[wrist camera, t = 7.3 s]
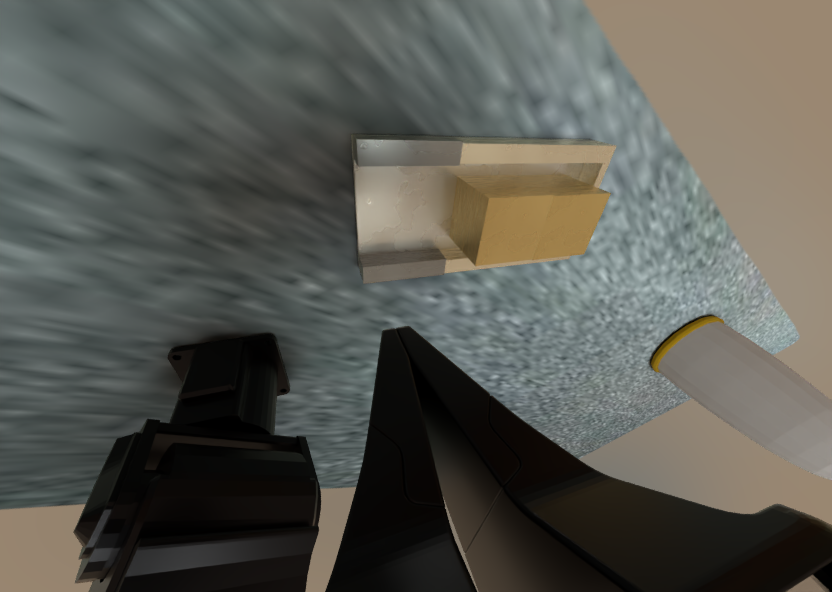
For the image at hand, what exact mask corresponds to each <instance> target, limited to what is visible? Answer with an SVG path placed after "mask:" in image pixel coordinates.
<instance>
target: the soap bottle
mask: <svg viewBox="0 0 832 592" xmlns="http://www.w3.org/2000/svg"><path fill="white" fill-rule="evenodd" d="M651 365H652V368H653V369H654V371H655V372H660V373H662V374H663V375H664V376H665V377H666V378H667V379H669V380H670V381H671V382H672V383H673V384H675V385H676V386H677V387H678V388H679V389H681V390H682V391H683V392H685V393H686V394H687V395H689V396H690V397H691V398H693V399H694V400H695V401H697V402H698V403H699V404H700V405H702V406H703V407H705V408H706V409H707V410H709V411H710V412H712V413H713V414H715V415H716V416H717V417H719V418H721V419H722V420H723V421H725V422H726V423H728V424H729V425H730V426H732V427H733V428H735V429H736V430H738V431H739V432H741V433H743V434H744V435H745V436H747V437H749V438H750V439H751V440H753V441H755V442H756V443H758V444H759V445H761V446H762V447H764V448H765V449H767V450H769V451H771V452H772V453H774V454H776V455H778V456H779V457H781V458H783V459H785V460H787V461H788V462H790V463H792V464H794V465H796V466H798V467H800V468H802V469H804V470H806V471H808V472H810V473H812V474H815V475H818V476H821V477H823V478H827V479H829V480H832V400H830V399H829V398H828V397H827V396H825V395H824V394H823V393H822V392H820V391H819V390H818V389H817V388H815V387H814V386H813V385H812V384H810V383H809V382H808V381H806V380H805V379H804V378H803V377H801V376H800V375H799V374H797V373H796V372H795V371H793V370H792V369H791V368H789V367H788V366H787V365H785V364H784V363H783V362H781V361H780V360H779V359H777V358H776V357H774V356H773V355H771V354H770V353H768V352H767V351H765V350H764V349H763V348H761V347H760V346H758V345H757V344H755V343H754V342H752V341H751V340H749V339H748V338H746V337H745V336H743V335H741V334H740V333H738V332H736V331H735V330H733V329H731V328H730V327H728V326H727V325H725V324H724V321H723V320H722V319H720V318H718V317H715V316H709V317H704V318H701V319H699V320H697V321H694V322H692V323H690V324H688V325H686V326H685V327H683V328H682V329H680V330H679V331H677V332H676V333H674V334H673V335H672V336H671V337H670V338H669V339H668V340H666V341H665V342H664V343H663V344H662V346H661V347H660V348H659V349H658V351H657V352H656V353H655V355H654V357H653V359H652V362H651Z"/></svg>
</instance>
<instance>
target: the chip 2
mask: <svg viewBox="0 0 832 592" xmlns="http://www.w3.org/2000/svg"><path fill="white" fill-rule="evenodd" d="M517 177H519V178H521V179H523V180H525V181H527V182H529V183H531V184H533V185H535V186H537V187H539V188H541V189H543V190H545V191H547V192H549V193H551V194H553V195H554V198H553V201H552V204H551V207H550V210H549V213H548V216H547V219H546V222H545V225H544V228H543V231H542V234H541V237H540V240H539V243H538V246H537V248H536V251H535V254H534V257H533V259H532V260H539V259H547V258H555V257H564V256H572V255H581V254H584V253H585V250H586V248H587V246H588V244H589V241H590V239H591V237H592V235H593V232H594V230H595V228H596V226H597V223H598V221H599V219H600V217H601V214H602V212H603V210H604V208H605V205H606V203H607V201H608V199H609V196H610V194H611V193H609V192H607V191H604V190H602V189H599V188H597V187H594V186H592V185H589V184H587V183H585V182H582V181H580V180H577V179H575V178H572V177H570V176H567V175H565V174H558V175H522V176H517Z"/></svg>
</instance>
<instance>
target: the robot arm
mask: <svg viewBox="0 0 832 592" xmlns="http://www.w3.org/2000/svg"><path fill="white" fill-rule="evenodd" d="M266 341H270V342H266ZM177 355H180V356H177ZM168 360H169V361H170V363H171V365H172V366H173V368H174V369H175V371H176V372H177V374H178V376H179V377H180V379H181V380H182V382H183V384H182V386H181V389H180V392H179V395H178V400H177V403H176V406H175V409H174V411H173V414H172V417H171V420H170V422H169V423H163V422H160V420H153V419H147V420H146V422H145V424H144V426H143V427H142V429H141V431H140V432H139V433H137V432H136V433H134V434H132V435H129V436H125V437H122V438H118V439H117V440H116V442H115V444H114V446H113V448H112V450H111V452H110V454H109V456H108V458H107V460H106V462H105V464H104V466H103V468H102V470H101V472H100V474H99V476H98V479H97V481H96V483H95V485H94V487H93V489H92V492H91V494H90V496H89V498H88V500H87V503H86V505H85V507H84V509H83V512H82V514H81V516H80V518H79V521H78V523H77V526H76V527H75V530H74V534H75V535H76V537H77V539H78V540H79V542H80V543H81V545H82V546H83V547H82V550H81V553H80V556H79V559H82V562H81V565H80V568H79V571H78V574H77V577H76V580H75V583H83V582H89V581H90V582H91V581H93V582H92V585H91V587H90V590H89V592H305V590H306V582H307V574H308V570H309V565H310V560H311V555H312V551H313V548H314V545H315V542H316V539H317V536H318V532H319V527H318V522H319V517H320V510H321V491H320V486H319V482H318V479H317V475H316V472H315V468H314V465H313V461H312V458H311V454H310V451H309V447H308V444H307V440H306V437H303V436H297V437H290V436H281V435H274V431H275V416H276V401H277V396H279V395H284V394H287V393H289V391H290V384H289V381H288V377H287V374H286V371H285V367H284V364H283V361H282V357H281V354H280V350H279V347H278V344H277V340H276V338H275V336H273V335H271V334H265V335H259V336H252V337H245V338H239V339H232V340H225V341H219V342H212V343H205V344H199V345H192V346H185V347H179V348H174V349H172V350H170V352H169V354H168ZM442 494H443V495H442ZM443 497H444V499H443ZM444 500H445V502H446V505H447V508H448V510H449V513H450V516H451V518H452V521H453V524H454V526H455V529H456V532H457V534H458V537H459V540H460V542H461V545H462V548H463V551H464V552H465V556H466V559H467V561H468V564H469V567H470V570H471V572H472V575H473V578H474V580H475V583H476V586H477V588H478V591H479V592H832V525H831V524H828V523H826V522H824V521H822V520H820V519H818V518H815V517H813V516H811V515H808V514H806V513H803V512H800V511H797V510H794V509H792V508H789V507H786V506H784V505H781V504H774V505H772V506H769V507H767V508H765V509H763V510H761V511H759V512H757V513H755V514H739V513H733V512H727V511H723V510H719V509H715V508H711V507H708V506H705V505H702V504H698V503H695V502H692V501H688V500H685V499H682V498H678V497H675V496H672V495H668V494H665V493H662V492H658V491H655V490H651V489H648V488H645V487H642V486H638V485H635V484H632V483H629V482H625V481H622V480H618V479H616V478H613V477H610V476H608V475H605V474H603V473H601V472H599V471H597V470H595V469H593V468H591V467H590V466H588V465H586V464H585V463H583V462H582V461H580V460H579V459H577V458H576V457H574V456H573V455H572V454H570V453H569V452H567V451H566V450H564V449H563V448H562V447H560V446H559V445H557V444H556V443H554V442H553V441H551V440H550V439H549V438H547V437H546V436H544V435H543V434H541V433H540V432H538V431H537V430H536V429H534V428H533V427H532V426H530V425H529V424H527V423H526V422H525V421H523V420H522V419H521V418H519V417H518V416H517V415H515V414H514V413H513V412H512V411H510V410H509V409H508V408H507V407H505V406H504V405H503V404H502V403H500V402H499V401H498V400H497V399H496V398H494V397H493V396H490V394H489V393H488V392H487V391H486V390H485V389H484V388H482V387H481V386H480V385H479V384H478V383H476V382H475V381H474V380H473V379H472V378H470V377H469V376H468V375H467V374H466V373H465V372H463V371H462V370H461V369H460V368H459V367H457V366H456V365H455V364H454V363H453V362H451V361H450V360H449V359H448V358H447V357H446V356H444V355H443V354H442V353H441V352H440V351H438V350H437V349H436V348H435V347H434V346H432V345H431V344H430V343H429V342H428V341H426V340H425V339H424V338H423V337H422V336H421V335H419V334H418V333H417V332H416V331H415V330H413V329H412V328H411V327H410V326H403V327H398V328H396V329H395V328H391V329H385V330H383V331H382V336H381V343H380V350H379V357H378V365H377V372H376V379H375V386H374V393H373V400H372V407H371V414H370V421H369V428H368V434H367V441H366V447H365V453H364V458H363V463H362V467H361V471H360V475H359V479H358V483H357V487H356V491H355V494H354V498H353V501H352V505H351V509H350V512H349V516H348V519H347V523H346V527H345V530H344V534H343V538H342V541H341V545H340V548H339V551H338V555H337V558H336V562H335V565H334V568H333V571H332V574H331V577H330V580H329V583H328V585H327V588H326V591H325V592H477V590H476V588H475V586H474V583H473V581H472V579H471V576H470V574H469V572H468V569H467V567H466V565H465V562H464V560H463V558H462V556H461V553H460V551H459V549H458V546H457V544H456V542H455V539H454V536H453V533H452V530H451V527H450V523H449V520H448V516H447V512H446V509H445V504H444Z"/></svg>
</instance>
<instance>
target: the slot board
mask: <svg viewBox="0 0 832 592" xmlns="http://www.w3.org/2000/svg"><path fill="white" fill-rule="evenodd" d="M351 144H352V161H353V179H354V196H355V214H356V231H357V248H358V266H359V269H360V273H361V277H362V280H363V283H364V284H366V283H375V282H384V281H392V280H401V279H409V278H418V277H426V276H435V275H444V273H450V272H459V271H468V270H476V269H485V268H494V267H502V266H511V265H520V264H528V263H537V262H546V261H554V260H563V259H569V258H570V256H564V257H555V258H547V259H539V260H524V261H515V262H507V263H498V264H490V265H481V266H475V265H474V264H473V263H472V262H471V261H470V260H469V259H468V258H467V256H466V255H465V254H464V253H463V252H462V251H461V250H460V248H459V247H458V246H457V245H456V244H455V243H454V242H453V241H452V239H451V238H450V237H449V234H450V227H451V219H452V212H453V205H454V197H455V190H456V183H457V176H487V175H515V176H522V175H558V174H565V175H567V176H570V177H572V178H575V179H577V180H580V181H582V182H585V183H587V184H589V185H592V186H594V187H597V188H599V186H600V184H601V182H602V179H603V177H604V174H605V172H606V170H607V167H608V165H609V163H610V160H611V158H612V155H613V153H614V151H615V148H616V146H615V145H611V144H607V143H603V142H599V141H595V140H591V139H546V138H501V137H456V136H420V135H375V134H351Z"/></svg>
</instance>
